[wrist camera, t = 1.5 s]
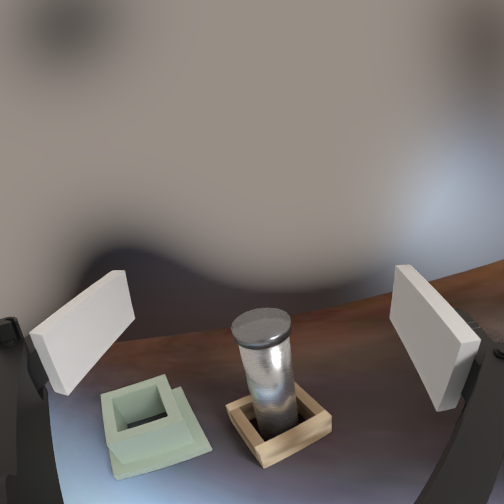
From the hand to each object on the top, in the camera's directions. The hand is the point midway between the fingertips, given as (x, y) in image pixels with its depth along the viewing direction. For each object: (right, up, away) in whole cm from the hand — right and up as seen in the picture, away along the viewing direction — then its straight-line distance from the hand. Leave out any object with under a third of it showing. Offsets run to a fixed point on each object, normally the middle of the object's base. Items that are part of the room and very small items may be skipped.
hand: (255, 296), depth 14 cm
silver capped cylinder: (+3, -18, +17) cm, 25 cm away
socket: (-12, -20, +18) cm, 30 cm away
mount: (+3, -18, +17) cm, 25 cm away
